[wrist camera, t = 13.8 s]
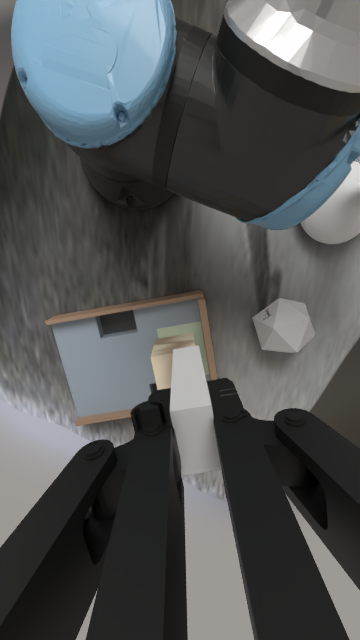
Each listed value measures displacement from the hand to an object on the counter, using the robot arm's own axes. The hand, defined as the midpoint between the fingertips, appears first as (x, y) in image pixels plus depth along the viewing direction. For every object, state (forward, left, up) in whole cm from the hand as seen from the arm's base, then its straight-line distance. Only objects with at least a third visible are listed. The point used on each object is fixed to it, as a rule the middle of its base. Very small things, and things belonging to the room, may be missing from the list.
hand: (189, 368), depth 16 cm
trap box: (+3, -12, -29) cm, 32 cm away
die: (+13, +9, -30) cm, 34 cm away
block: (+6, -6, -27) cm, 28 cm away
